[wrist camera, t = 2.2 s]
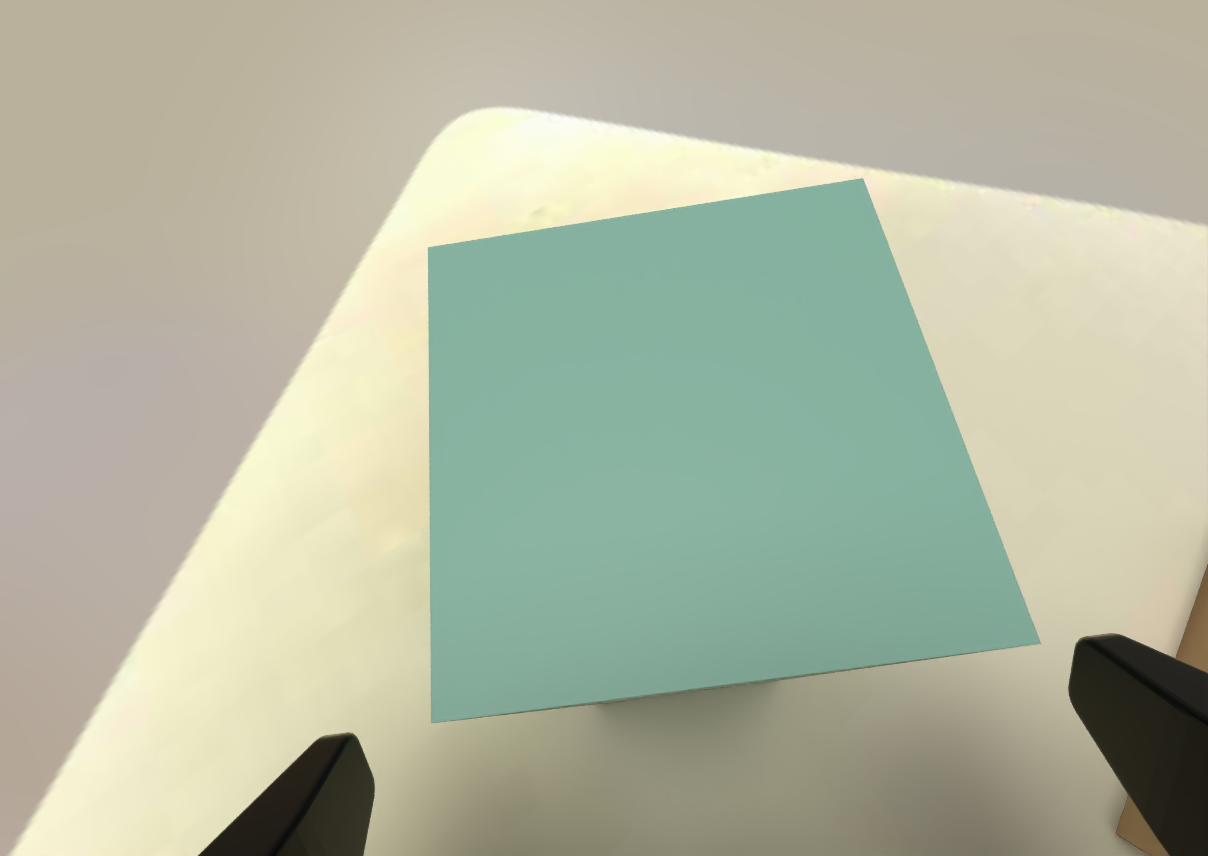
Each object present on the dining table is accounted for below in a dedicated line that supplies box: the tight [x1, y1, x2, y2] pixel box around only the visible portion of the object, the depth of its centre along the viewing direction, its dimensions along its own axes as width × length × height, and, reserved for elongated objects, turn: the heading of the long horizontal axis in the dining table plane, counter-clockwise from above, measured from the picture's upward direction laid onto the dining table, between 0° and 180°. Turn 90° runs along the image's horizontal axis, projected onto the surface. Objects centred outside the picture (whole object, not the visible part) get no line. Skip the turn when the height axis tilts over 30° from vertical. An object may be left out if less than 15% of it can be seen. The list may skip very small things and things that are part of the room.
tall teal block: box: [428, 178, 1041, 723], centre depth 12 cm, size 5×5×13 cm
